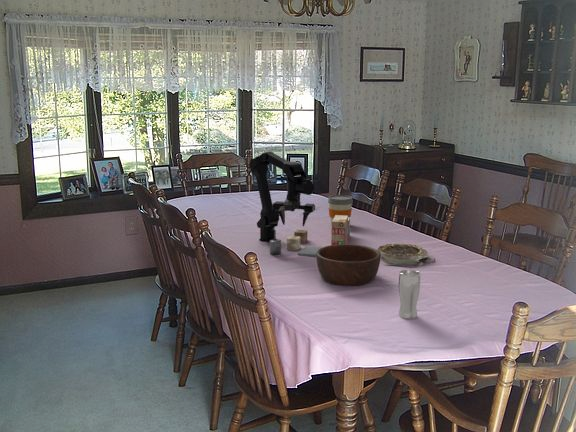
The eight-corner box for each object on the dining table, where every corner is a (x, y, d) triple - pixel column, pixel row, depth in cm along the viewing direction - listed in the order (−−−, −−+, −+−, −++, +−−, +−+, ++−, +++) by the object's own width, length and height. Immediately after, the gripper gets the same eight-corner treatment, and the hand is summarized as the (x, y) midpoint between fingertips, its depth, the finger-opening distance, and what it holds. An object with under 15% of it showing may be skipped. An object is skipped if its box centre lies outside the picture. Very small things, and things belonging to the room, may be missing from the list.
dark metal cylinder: (268, 254, 274) (268, 241, 273) (272, 251, 279) (271, 238, 277) (279, 255, 273) (279, 242, 271) (282, 252, 277) (282, 239, 276)
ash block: (286, 249, 283) (286, 238, 282) (289, 246, 288) (289, 235, 286) (297, 250, 282) (297, 239, 280) (300, 247, 286) (300, 236, 285)
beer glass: (402, 310, 212) (404, 267, 208) (421, 314, 208) (424, 271, 205) (393, 316, 206) (395, 273, 203) (413, 321, 202) (415, 277, 199)
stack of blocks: (337, 235, 307) (337, 210, 304) (349, 235, 306) (350, 211, 303) (331, 246, 287) (331, 220, 284) (344, 247, 286) (345, 221, 283)
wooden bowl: (363, 293, 228) (363, 266, 226) (303, 281, 241) (304, 255, 238) (390, 274, 249) (391, 249, 246) (334, 264, 261) (334, 240, 259)
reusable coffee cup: (346, 221, 333) (346, 194, 329) (355, 227, 321) (356, 198, 318) (324, 223, 329) (324, 195, 325) (333, 229, 317) (333, 200, 314)
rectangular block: (294, 242, 294) (294, 232, 293) (297, 239, 299) (297, 229, 298) (304, 243, 293) (304, 232, 292) (307, 240, 297) (307, 230, 296)
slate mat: (297, 255, 274) (298, 253, 274) (305, 247, 285) (305, 246, 285) (324, 257, 270) (324, 255, 270) (331, 249, 282) (331, 248, 281)
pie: (362, 263, 263) (362, 252, 262) (377, 247, 288) (378, 237, 287) (429, 271, 253) (430, 260, 252) (439, 254, 278) (440, 243, 277)
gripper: (268, 193, 274) (268, 228, 277) (309, 196, 268) (308, 231, 272) (276, 188, 284) (276, 222, 288) (315, 191, 279) (315, 225, 282)
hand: (293, 225), depth 282 cm, fingers open, 9 cm apart
